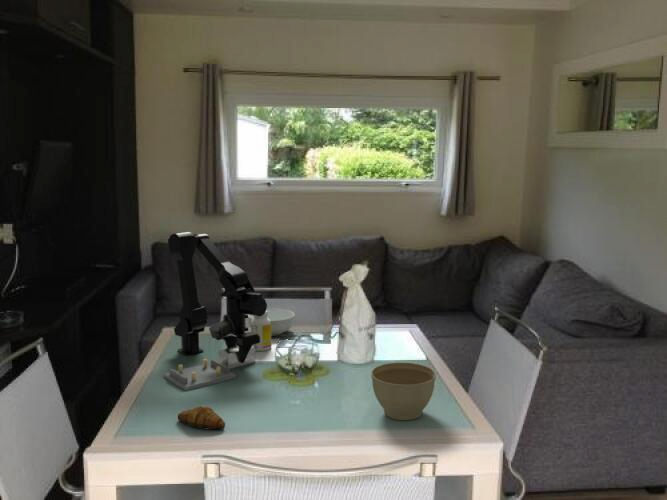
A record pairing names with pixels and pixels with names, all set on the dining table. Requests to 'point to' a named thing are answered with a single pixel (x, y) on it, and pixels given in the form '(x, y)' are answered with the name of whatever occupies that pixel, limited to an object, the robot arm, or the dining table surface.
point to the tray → (200, 375)
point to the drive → (235, 357)
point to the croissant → (202, 418)
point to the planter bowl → (403, 388)
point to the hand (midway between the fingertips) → (237, 360)
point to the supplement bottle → (262, 331)
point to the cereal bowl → (278, 320)
